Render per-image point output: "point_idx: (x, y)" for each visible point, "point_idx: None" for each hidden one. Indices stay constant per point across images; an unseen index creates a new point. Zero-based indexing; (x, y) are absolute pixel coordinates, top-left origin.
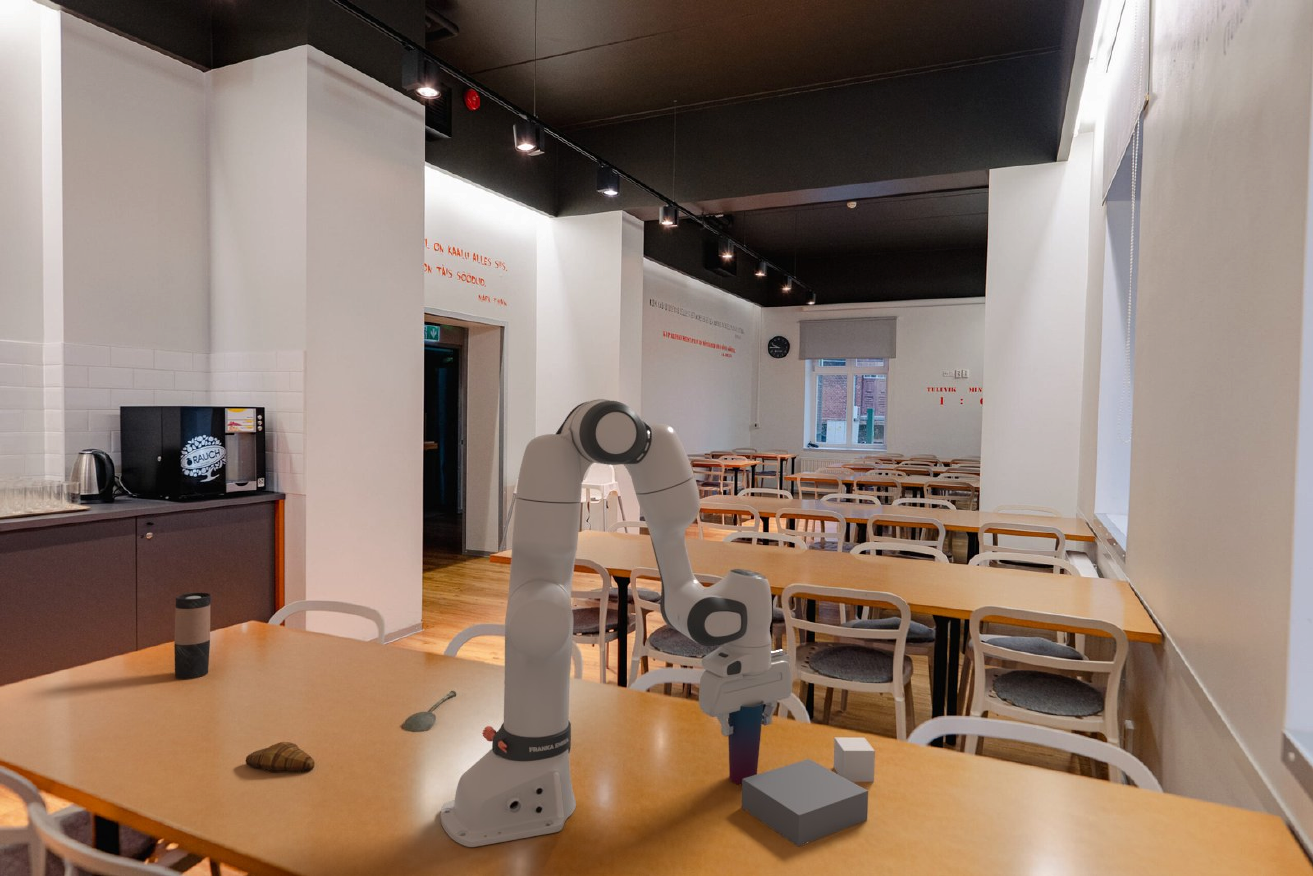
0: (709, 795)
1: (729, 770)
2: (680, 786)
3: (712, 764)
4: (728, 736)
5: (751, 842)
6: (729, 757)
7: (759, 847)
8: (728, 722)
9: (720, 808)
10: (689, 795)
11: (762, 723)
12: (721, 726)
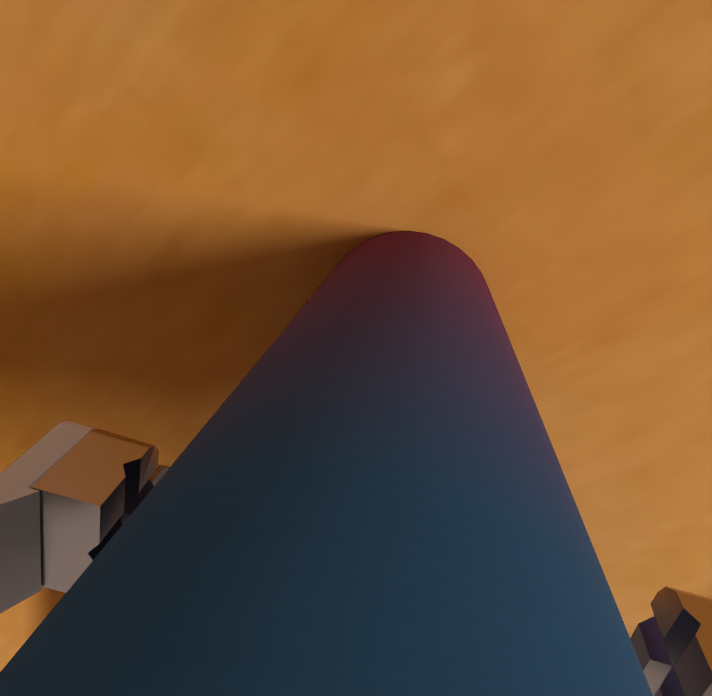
0: (111, 291)
1: (335, 268)
2: (27, 93)
3: (437, 10)
4: (255, 366)
5: (25, 602)
6: (298, 312)
7: (30, 630)
8: (161, 478)
9: (76, 404)
10: (15, 213)
11: (655, 616)
12: (10, 469)
